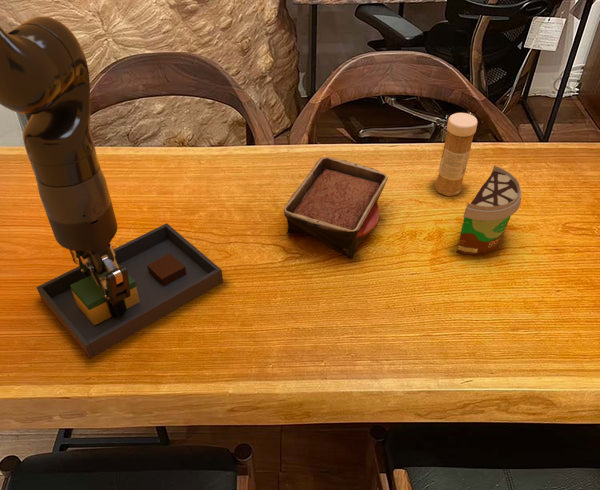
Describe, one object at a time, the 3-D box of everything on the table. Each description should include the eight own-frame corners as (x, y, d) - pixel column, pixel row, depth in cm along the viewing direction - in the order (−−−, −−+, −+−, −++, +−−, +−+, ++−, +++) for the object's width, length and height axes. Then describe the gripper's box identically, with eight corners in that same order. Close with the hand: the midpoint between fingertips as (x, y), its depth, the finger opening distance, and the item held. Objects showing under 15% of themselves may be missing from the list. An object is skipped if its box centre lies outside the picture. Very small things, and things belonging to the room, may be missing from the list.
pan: (91, 361, 76) (85, 346, 73) (43, 302, 83) (35, 287, 81) (223, 285, 85) (221, 269, 83) (169, 238, 93) (166, 222, 91)
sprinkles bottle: (444, 178, 104) (458, 108, 95) (466, 189, 102) (483, 118, 92) (429, 189, 102) (443, 118, 92) (451, 200, 100) (468, 129, 90)
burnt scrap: (163, 286, 84) (161, 279, 83) (148, 272, 86) (146, 265, 85) (186, 274, 86) (185, 266, 85) (171, 260, 88) (170, 253, 87)
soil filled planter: (393, 223, 99) (399, 167, 93) (350, 274, 86) (354, 213, 80) (316, 205, 104) (317, 151, 98) (265, 250, 91) (263, 191, 85)
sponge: (94, 326, 79) (87, 305, 76) (77, 305, 81) (69, 284, 78) (140, 302, 82) (135, 281, 79) (122, 283, 85) (116, 262, 82)
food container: (491, 272, 87) (508, 219, 80) (452, 258, 89) (466, 205, 82) (517, 228, 94) (535, 175, 87) (480, 215, 97) (495, 163, 90)
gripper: (21, 187, 71) (60, 287, 83) (76, 245, 64) (110, 345, 76) (79, 165, 75) (108, 264, 87) (136, 218, 67) (159, 318, 80)
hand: (108, 302), depth 81 cm, fingers closed on sponge, 5 cm apart
